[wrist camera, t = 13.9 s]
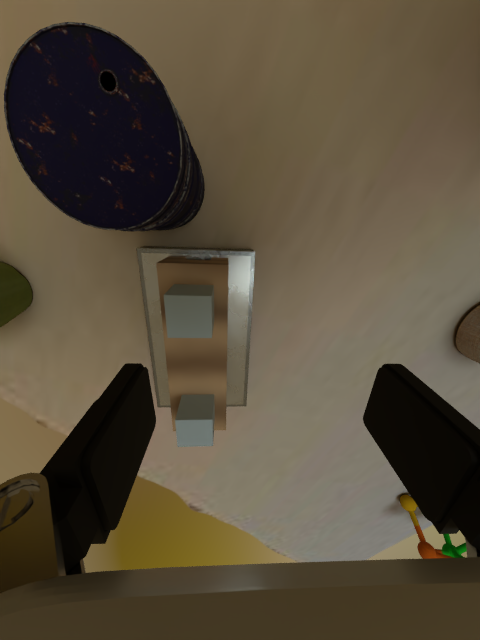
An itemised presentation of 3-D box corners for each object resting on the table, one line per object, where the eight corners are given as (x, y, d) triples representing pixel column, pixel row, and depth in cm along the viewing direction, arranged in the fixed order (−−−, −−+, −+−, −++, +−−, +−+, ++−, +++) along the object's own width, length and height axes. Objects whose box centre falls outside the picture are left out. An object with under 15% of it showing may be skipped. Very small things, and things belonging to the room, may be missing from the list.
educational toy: (420, 510, 58) (474, 602, 45) (385, 496, 55) (432, 590, 42) (476, 481, 52) (558, 577, 39) (441, 464, 49) (517, 561, 36)
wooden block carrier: (169, 256, 27) (156, 262, 22) (228, 257, 27) (228, 264, 22) (180, 401, 35) (173, 431, 30) (225, 401, 36) (225, 430, 31)
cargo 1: (213, 285, 23) (211, 296, 19) (214, 321, 24) (211, 338, 21) (173, 284, 23) (163, 295, 19) (176, 320, 24) (167, 337, 21)
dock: (252, 249, 30) (255, 251, 27) (244, 393, 39) (246, 406, 36) (145, 246, 29) (136, 248, 26) (162, 394, 38) (157, 408, 35)
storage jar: (189, 243, 29) (157, 257, 16) (112, 208, 27) (-3, 190, 14) (217, 160, 26) (208, 85, 12) (132, 114, 24) (8, -35, 10)
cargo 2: (214, 394, 28) (212, 419, 25) (214, 418, 30) (212, 445, 26) (181, 394, 28) (175, 420, 24) (183, 419, 29) (177, 446, 26)
